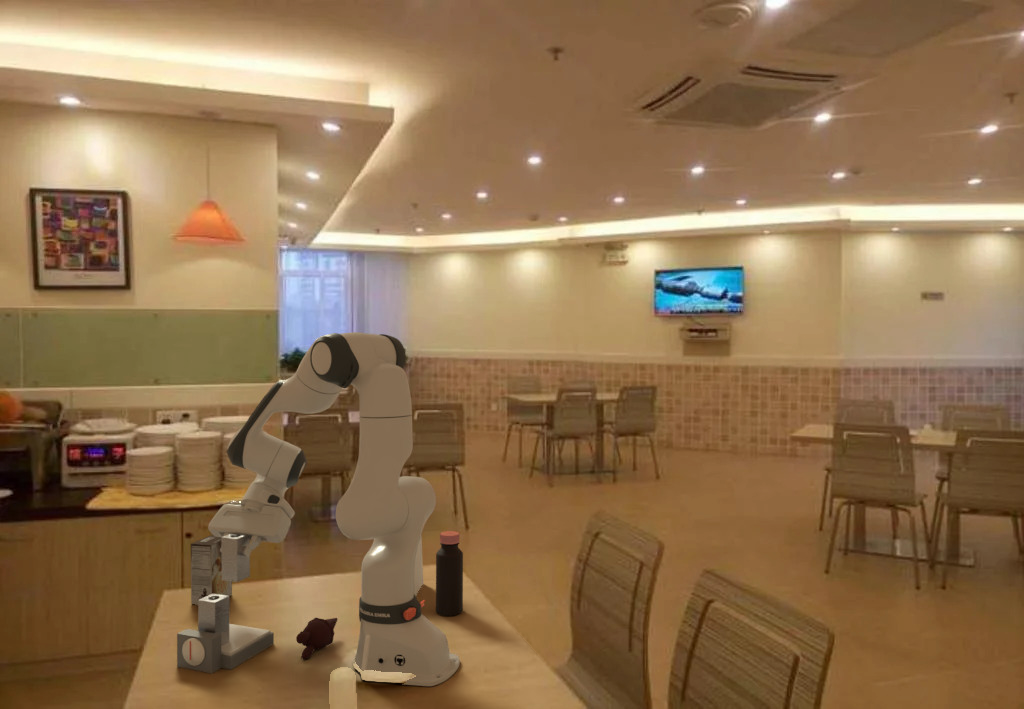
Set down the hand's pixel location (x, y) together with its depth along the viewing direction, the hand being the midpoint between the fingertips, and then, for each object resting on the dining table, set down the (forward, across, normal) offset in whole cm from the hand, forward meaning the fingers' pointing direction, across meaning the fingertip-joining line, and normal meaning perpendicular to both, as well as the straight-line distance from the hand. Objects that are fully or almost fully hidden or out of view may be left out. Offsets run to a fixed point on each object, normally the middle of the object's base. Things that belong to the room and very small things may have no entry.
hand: (233, 553), depth 176 cm
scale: (+21, +6, +5) cm, 22 cm away
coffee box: (+2, -20, +24) cm, 32 cm away
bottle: (-8, +42, +34) cm, 55 cm away
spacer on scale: (+20, +6, +2) cm, 21 cm away
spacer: (+4, 0, +5) cm, 6 cm away
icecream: (+14, +23, +13) cm, 30 cm away
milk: (-15, +22, +42) cm, 49 cm away
